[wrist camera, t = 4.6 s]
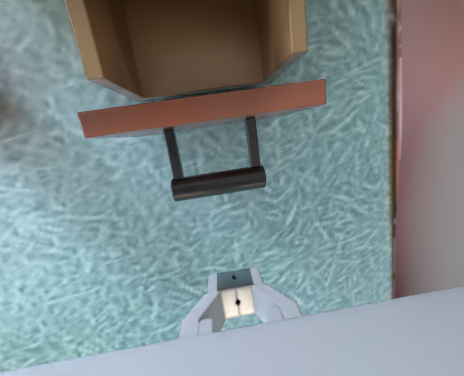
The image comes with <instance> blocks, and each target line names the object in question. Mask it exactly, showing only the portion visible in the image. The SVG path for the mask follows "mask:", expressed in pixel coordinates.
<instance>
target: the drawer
mask: <svg viewBox="0 0 464 376" xmlns="http://www.w3.org/2000/svg"><path fill="white" fill-rule="evenodd" d="M65 3H66V7H67V10H68V14H69V17H70V21H71V24H72V28H73V31H74V35H75V38H76V42H77V45H78V49H79V52H80V56H81V59H82V63H83V66H84V70H85V73H86V77H87V79H88V80H90V81H93V82H95V83H97V84H99V85H102V86H104V87H106V88H109V89H111V90H113V91H115V92H118V93H120V94H122V95H125V96H127V97H129V98H131V99H134V100H136V101H142V100H150V99H157V98H164V97H172V96H179V95H187V94H194V93H201V92H209V91H216V90H224V89H231V88H238V87H246V86H253V85H261V84H268V83H271V82H272V81H274V80H275V79H276V78H277V77H278V76H279V75H281V74H282V73H283V72H284V71H285V70H286V69H287V68H288V67H290V66H291V65H292V64H293V63H294V62H295V61H296V60H298V59H299V58H300V57H301V56H302V55H303V54H304V53H306V52H307V31H306V9H305V0H65ZM325 104H326V80H325V79H320V80H312V81H305V82H298V83H290V84H283V85H276V86H268V87H261V88H254V89H246V90H239V91H231V92H224V93H217V94H209V95H202V96H195V97H187V98H180V99H172V100H165V101H158V102H150V103H143V104H136V105H128V106H121V107H113V108H106V109H99V110H91V111H84V112H79V113H78V117H79V120H80V124H81V127H82V130H83V133H84V137H85V138H110V137H138V136H145V135H152V134H159V133H164V136H165V141H166V145H167V150H168V155H169V159H170V164H171V169H172V173H173V178H174V179H172V180H171V191H172V195H173V198H174V200H175V201H183V200H189V199H195V198H201V197H208V196H214V195H220V194H227V193H233V192H239V191H245V190H252V189H258V188H264V187H266V174H265V170H264V167H263V166H262V165H260V157H259V148H258V139H257V130H256V120H257V119H264V118H271V117H278V116H283V115H287V114H291V113H295V112H298V111H302V110H306V109H310V108H314V107H317V106H321V105H325ZM243 121H245V128H246V136H247V144H248V153H249V161H250V166H251V167H246V168H239V169H233V170H226V171H220V172H213V173H207V174H200V175H194V176H187V177H184V173H183V168H182V163H181V158H180V153H179V148H178V143H177V138H176V133H175V131H180V130H187V129H194V128H201V127H208V126H215V125H222V124H229V123H236V122H243Z"/></svg>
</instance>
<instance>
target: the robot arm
mask: <svg viewBox="0 0 464 376" xmlns="http://www.w3.org/2000/svg"><path fill="white" fill-rule="evenodd" d="M249 314H255V315H256V316H257V317H258V318H259V319H260V320H261V321H262V322H263V323H262V324H256V325H251V326H246V327H240V328H235V329H229V330H224V331H220V330H221V328H222V326H223V324H224V322H225V319H228V318H233V317H237V316H243V315H249ZM0 376H464V286H461V287H455V288H450V289H444V290H439V291H434V292H429V293H423V294H418V295H412V296H407V297H402V298H396V299H391V300H386V301H380V302H375V303H369V304H364V305H359V306H353V307H348V308H342V309H337V310H331V311H326V312H321V313H315V314H310V315H305V316H303V315H302V313H301V311H300V309H299V307H298V305H297V303H296V302H295V301H294V300H292V299H291V298H289V297H287V296H286V295H284V294H283V293H281V292H279V291H278V290H276V289H275V288H273V287H271V286H270V285H268V284H267V283H263V280H262V277H261V275H260V272H259V269H258V267H257V266H256V267H251V268H247V269H242V270H237V271H229V272H223V273H216V274H210V275H209V276H208V293H207V294H205V295H204V296H203V297H202V298H201V300H200V301H199V302H198V303H197V304H196V306H195V307H194V308H193V309H192V310H191V311H190V313H189V314H188V315H187V316H186V317H185V319H184V320H183V321H182V322H181V325H180V331H179V337H178V339H176V340H170V341H165V342H159V343H154V344H149V345H143V346H138V347H133V348H127V349H122V350H116V351H111V352H106V353H100V354H95V355H90V356H84V357H79V358H73V359H68V360H63V361H57V362H52V363H47V364H41V365H36V366H30V367H25V368H20V369H14V370H9V371H2V372H0Z"/></svg>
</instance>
